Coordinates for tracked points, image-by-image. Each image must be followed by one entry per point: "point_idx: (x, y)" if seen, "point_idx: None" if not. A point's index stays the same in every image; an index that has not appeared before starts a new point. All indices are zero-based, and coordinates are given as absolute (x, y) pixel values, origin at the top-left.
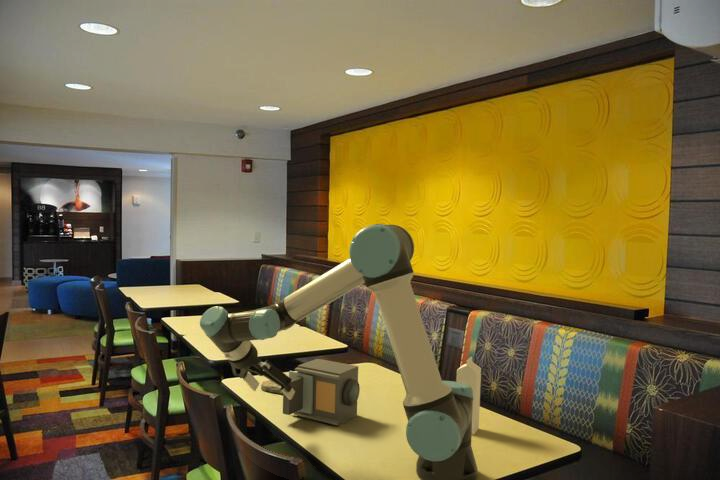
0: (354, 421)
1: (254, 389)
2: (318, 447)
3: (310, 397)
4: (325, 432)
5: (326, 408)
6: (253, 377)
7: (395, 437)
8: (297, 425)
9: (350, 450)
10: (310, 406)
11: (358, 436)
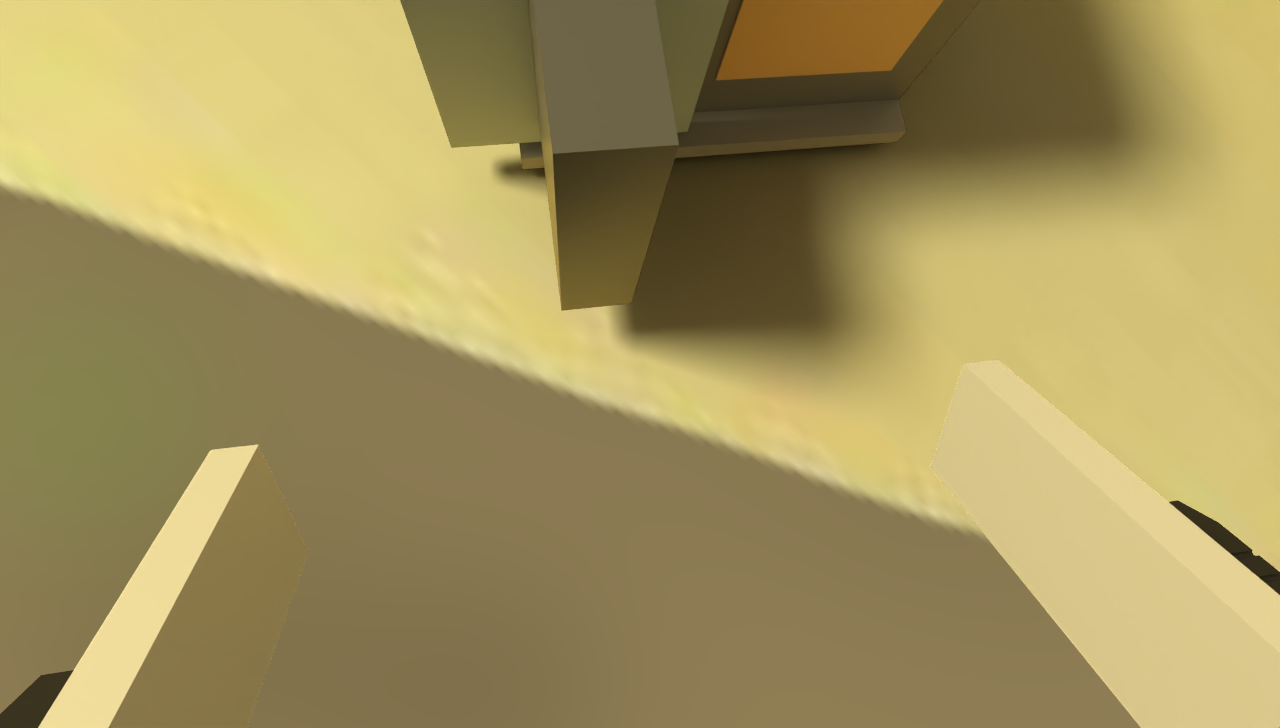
0: None
1: (293, 574)
2: None
3: (706, 37)
4: (909, 260)
5: (828, 58)
6: (156, 660)
7: (1227, 61)
8: (678, 290)
9: (1218, 379)
10: (690, 94)
11: (1090, 179)
